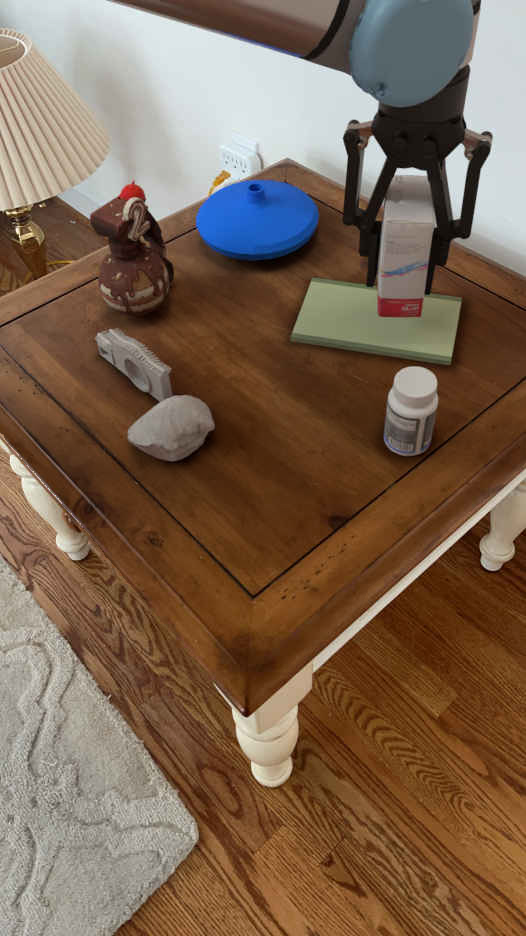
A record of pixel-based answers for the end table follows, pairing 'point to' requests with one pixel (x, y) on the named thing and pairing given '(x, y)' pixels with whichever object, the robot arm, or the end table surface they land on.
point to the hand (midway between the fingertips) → (399, 282)
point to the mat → (376, 323)
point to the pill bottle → (411, 411)
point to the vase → (257, 219)
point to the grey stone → (172, 428)
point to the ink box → (405, 246)
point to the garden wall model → (136, 363)
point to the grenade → (132, 254)
